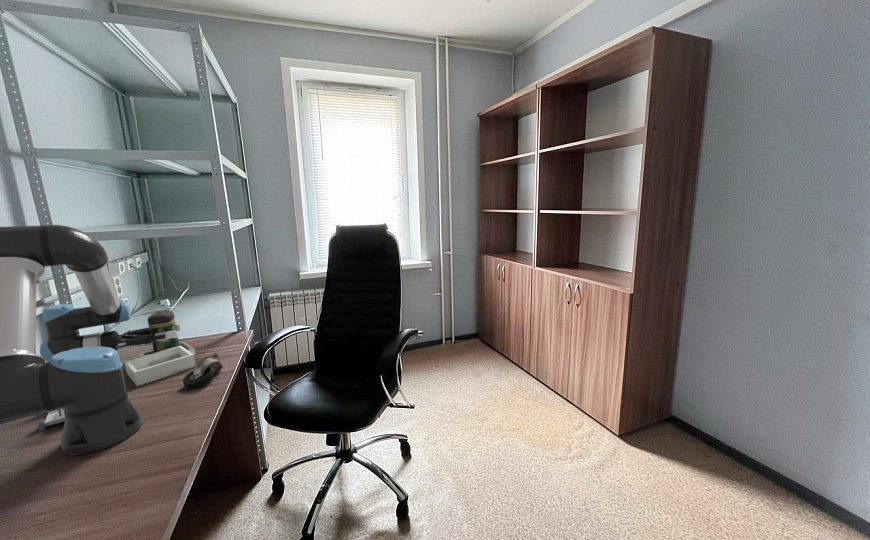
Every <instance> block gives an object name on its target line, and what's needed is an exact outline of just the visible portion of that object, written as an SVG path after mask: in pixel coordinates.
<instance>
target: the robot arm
mask: <svg viewBox="0 0 870 540" xmlns="http://www.w3.org/2000/svg"><path fill="white" fill-rule="evenodd" d="M108 261H109V256H108V253H107V252H106V249H105V247H103V246H102V244H101V243H100V242H99V241H98V240H96V239H95V238H94V237H92V236H91V235H89V234H87V232H83V231H81V230H80V229H77V228H74V227H71V226H67V225H62V224H49V225H45V224H44V225H22V226H0V426H3V425H5V424H9V423H12V422H16V421H20V420H23V419H24V420H25V419H27V418H31V417H34V416H39V415H43V414H47V413H49V412H51V411H54V410H58V409H63V411H64V414H65V421H64V422H63V423H64V424H63V429H62V432H61V437H60V440H59V442H60V448H61V452H62V451H63V452H64V453H66V454H65V455H67V454H82V455H84V454H83V453H87V454H90V453H89V452H92V453H94V452H93V451H95V452H98V450H99V451H101V449H102V450H104V449H107V448H110V447H112V446H114V445H117V444H119V443H120V441H121V442H123V441H124V440H126V439H127V437H128V438H129V437H131V436H133V435H134V434H135V433H136V432H137V431H138V430H139V429H140V428H141V427H142V425H143V419H142V415H141V413H140V412H139V410H138V409H137V407H136V406H135V405H134V403H132V401H131V399H130V398H129V395H128V390H127V386H126V381H125V377H124V372H123V362H122V361H121V357H120V355H119V352H118V350H120V349H123V348H127V347H128V348H129V347H137V346H143V345H151V344H152V345H153V344H155V343H156V342H155V340H156V341H159V340H165V339H170V338H176V337H177V336H178V332H180V331H181V329H182V328H181V325H180V323H175V324H176V330H177V332H176V330H175V331H168V332H162V333H156V334H155V336H154V335H151V334H150V329H149V326H148V327H145V328H139V329H138V328H137V329H133V330H127V331H126V332H123V333H122V334H119V333H118V331H117V330H108V331H103V332H97V333H96V332H95V333H89V334H83V335H80V331H79V330H82V329H89V328H93V327H94V328H95V327H100V326H107V325H114V324H119V323H123V322H128V321H129V320H130V319H131V317H132V316H131V309H130V308H131V307H130V305H129V303H128V302H127V301H120V300H119V296H118V295H117V291H116V289H115V285H114V283H113V280H112V278H111V274H110V271H109V269H108V267H107V264H108ZM54 266H55V267H56V266H66V267H67V268H68V269H69V271H72V272H73V273H74V275H75V276H76V279H77V280H78V283H79V285H80V287H81V290H82V291H83V293H84V294H83V295H85V299H86V300H87V302H88V303H89V306H84V307H74V306H73V304H72V303H61V304H55V305H51V306H47V307H44V308H43V310H42V318H43V319H42V320H43V324H44V327H45V331H46V335H47V340H45V341H42V342H41V344H40V346H39V354H38V353H37V279H40V278H41V277H42V276H43V275H44V274H45V272H46V271H45V268H47V267H54ZM134 432H135V433H134ZM133 433H134V434H133ZM130 435H131V436H130ZM122 440H123V441H122ZM118 442H119V443H118ZM116 443H117V444H116ZM109 446H110V447H109ZM63 452H62V453H63ZM64 453H63V454H64Z"/></svg>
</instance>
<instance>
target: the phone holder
mask: <svg viewBox="0 0 870 540" xmlns="http://www.w3.org/2000/svg"><path fill="white" fill-rule="evenodd" d="M47 413H48V414H47V416H46V418H45V419H44V418H43V419H40V420H39V421H38V429H39V431H40V432H43V430H44V431H46V428H47V427H48V426H51V425H57V424H60V423H64V422H65V414H64V411H63V409H58V410H54V411H51V412H47Z"/></svg>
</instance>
